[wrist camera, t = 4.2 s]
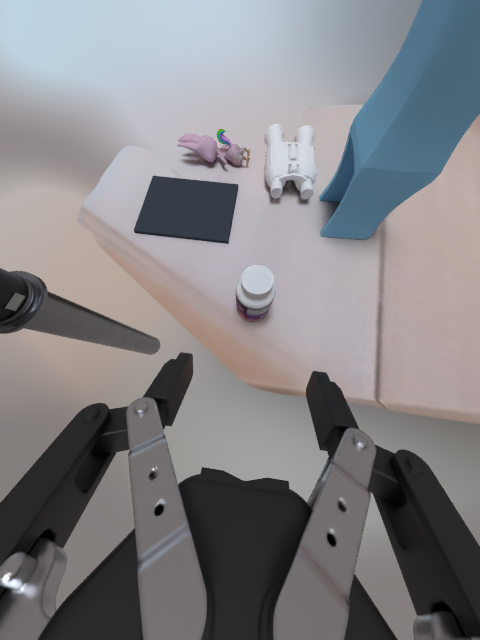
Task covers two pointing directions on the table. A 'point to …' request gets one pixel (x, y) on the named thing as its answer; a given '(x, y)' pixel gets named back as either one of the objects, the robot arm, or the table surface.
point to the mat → (188, 209)
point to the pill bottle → (255, 292)
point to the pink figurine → (214, 148)
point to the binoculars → (290, 161)
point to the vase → (409, 119)
